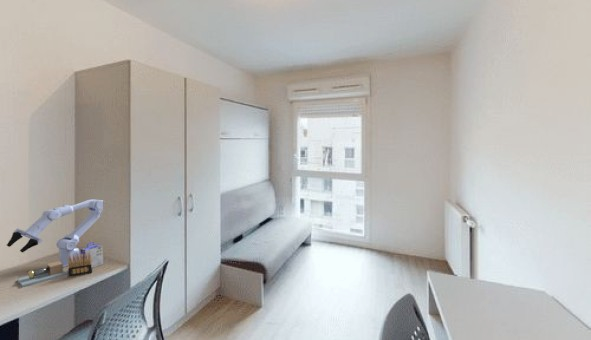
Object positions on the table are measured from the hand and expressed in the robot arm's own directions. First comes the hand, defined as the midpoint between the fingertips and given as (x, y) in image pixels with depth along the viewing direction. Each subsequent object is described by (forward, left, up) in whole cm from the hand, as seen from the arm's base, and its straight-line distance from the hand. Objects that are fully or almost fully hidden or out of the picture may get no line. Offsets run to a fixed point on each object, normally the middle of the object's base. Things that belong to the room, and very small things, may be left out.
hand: (14, 248), depth 146 cm
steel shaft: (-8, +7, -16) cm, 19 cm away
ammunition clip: (-23, +18, -18) cm, 34 cm away
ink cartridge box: (-31, +11, -18) cm, 38 cm away
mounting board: (-9, +7, -18) cm, 21 cm away
